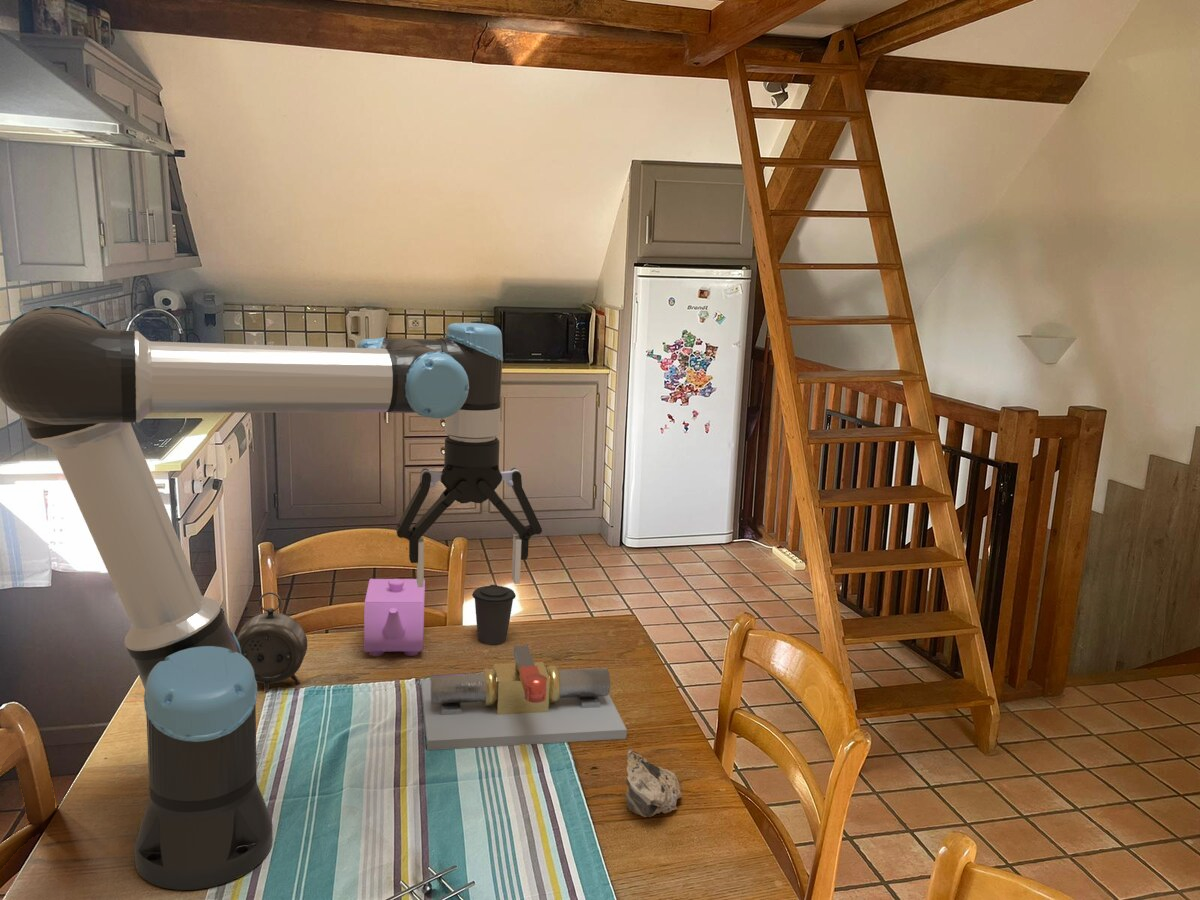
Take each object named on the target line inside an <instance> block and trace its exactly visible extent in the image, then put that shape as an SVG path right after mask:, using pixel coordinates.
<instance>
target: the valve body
mask: <svg viewBox="0 0 1200 900" xmlns="http://www.w3.org/2000/svg"><path fill="white" fill-rule="evenodd" d="M534 664H535V666H537V667H538V670H539V673H540V675H543V676H545V677H546V678H547V683H546V699H545V701H543V702H539V703H532V702H529V701H528V702H527V700H526V699H525V693H524V690H523V687H522V683H521V680H520V677H519V675H520V673H518V672H516V671H515V665H516V662H511V663H509V662H508V663H505V662H504V663H493V667H485V668H483V670H482V672H476V673H475V672H473V673H472V672H471V673H450V674H449V673H448V674H446V673H445V674H444V673H443V674H431V675H430V679H431V680H430V699H431V704H440V709H441V715H456V714H461V704H460V703H469V702H483V704H484V706H495V708H496V712H497V715H500V714H520V713H540V712H548V707H549V703H558V702H559V699H560V698H575V697H577V699H578V701H579V703H580V706H581V708H597V707H600V700H599V698H598V696H608V695H610V691H611V690H610V689H611V679H610V677H611V676H610V672H609V669H608V668H607V667H602V668H601V667H600V668H597V667H596V668H576V669H559V666H558V665H546V666H545V662H544V661H539V662H537V661H536V662H534Z"/></svg>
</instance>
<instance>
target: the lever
mask: <svg viewBox="0 0 1200 900" xmlns="http://www.w3.org/2000/svg"><path fill="white" fill-rule="evenodd" d="M529 648H530V647H529V646H528V645H513V657H514V658H513V659H514V661H515V663H516V665H515V671H516V672H518V673H520V675H519V677H520V680H521V683H522V687H523V690H524V693H525V699H526V700H527V702H528V701H529V702H532V703H539V702H543V701H545V699H546V683H547V678H546V677H545V676H543V675H540V673H539V670H538V667H537V666H535V664H534V659H533V656H532V654H531V651H530V649H529Z"/></svg>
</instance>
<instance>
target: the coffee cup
mask: <svg viewBox="0 0 1200 900" xmlns="http://www.w3.org/2000/svg"><path fill="white" fill-rule="evenodd" d="M471 596H472V598H474V607H475V618H476V619H475V621H476V632H477V640H478V642H479V643H481V644H482V645H487V646H499V645H503V644H505V643H506V642H507V639H508V633H509V628H510V627H509V626H510V620H511V614H512V608H513V601H514V599H516V596H517V595H516V593H515V592H514V590H513V589H511V588H510V587H506V586H503V585H498V584H490V585H483V586H480V587H477V588H475V590H473V592H472V594H471Z"/></svg>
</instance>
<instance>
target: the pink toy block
mask: <svg viewBox="0 0 1200 900" xmlns="http://www.w3.org/2000/svg"><path fill="white" fill-rule="evenodd" d="M367 585H368V586H367V590H366V594H365V599H364V610H363V611H364V612H363V613H364V616H363V617H364V619H363V620H364V622H363V624H364V625H363V652H364V653H367V652H369V655H370V656H373V657H379V656H382V655H384V654H385V652H388V653H389V652H404V653H403V654H404V655H406V656H409V657H413V656H417V655H419V652H423V651H424V649H423V647H424V633H425V632H424V630H425V629H424V628H425V599H426V598H425V595H426V580H425V578H424V585H423V587H418V585H417V578H370V579H369V581H368V584H367Z"/></svg>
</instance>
